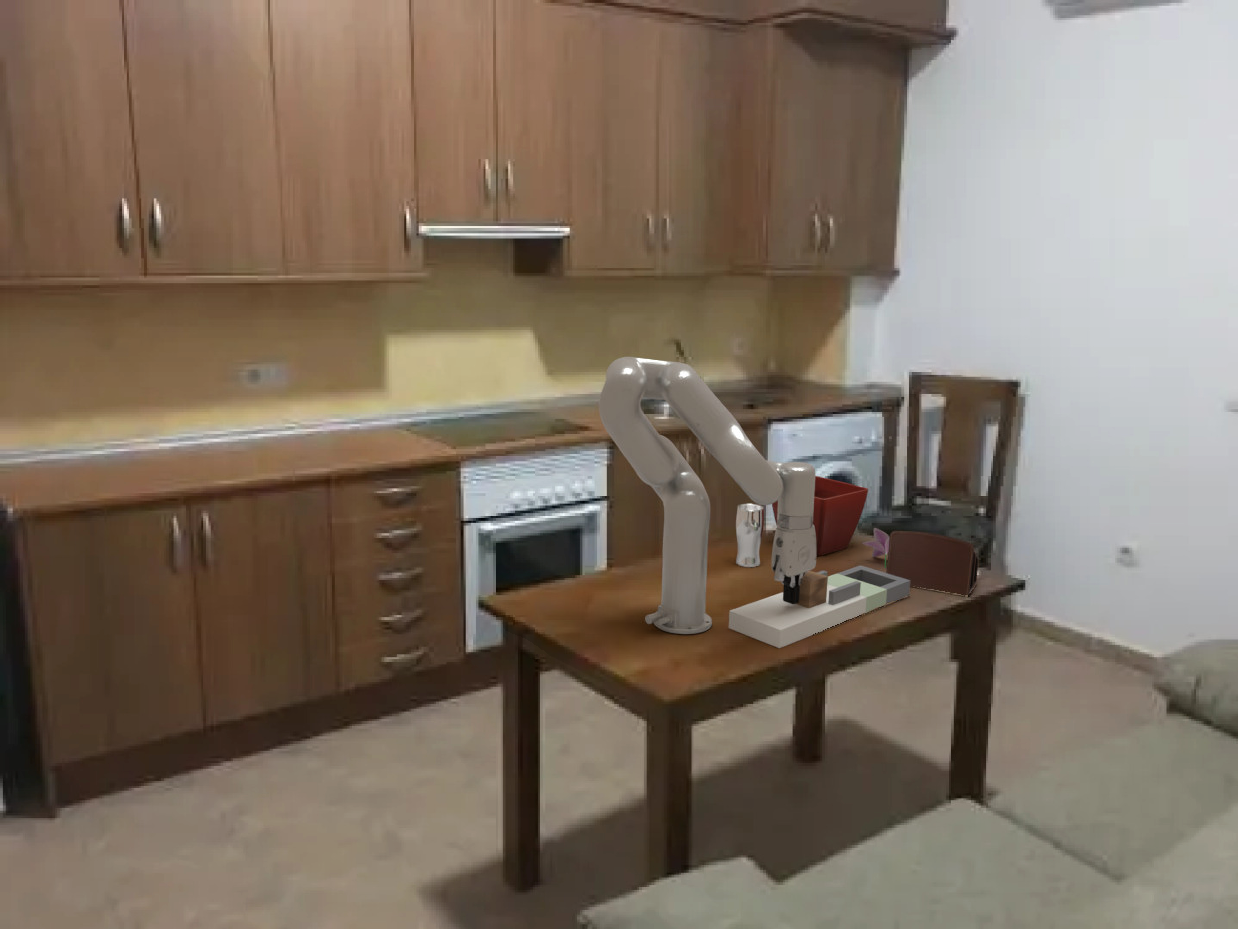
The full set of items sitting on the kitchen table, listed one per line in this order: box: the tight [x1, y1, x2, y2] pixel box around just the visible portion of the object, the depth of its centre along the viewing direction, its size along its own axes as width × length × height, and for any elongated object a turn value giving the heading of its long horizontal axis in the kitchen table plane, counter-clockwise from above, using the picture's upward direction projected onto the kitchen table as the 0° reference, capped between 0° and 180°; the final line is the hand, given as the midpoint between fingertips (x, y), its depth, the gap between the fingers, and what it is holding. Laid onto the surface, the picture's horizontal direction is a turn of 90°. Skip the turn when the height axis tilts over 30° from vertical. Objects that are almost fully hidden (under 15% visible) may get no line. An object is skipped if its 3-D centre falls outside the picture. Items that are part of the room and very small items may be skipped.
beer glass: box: [735, 503, 765, 568], centre depth 267 cm, size 7×7×15 cm
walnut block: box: [796, 570, 829, 608], centre depth 231 cm, size 6×6×6 cm
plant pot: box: [771, 475, 869, 557], centre depth 282 cm, size 19×19×17 cm
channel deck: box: [728, 565, 911, 649], centre depth 236 cm, size 48×14×7 cm, turn 132°
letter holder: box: [885, 530, 980, 596], centre depth 255 cm, size 10×20×14 cm, turn 61°
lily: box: [861, 527, 890, 569], centre depth 270 cm, size 12×12×10 cm
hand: (790, 601), depth 227 cm, fingers closed
